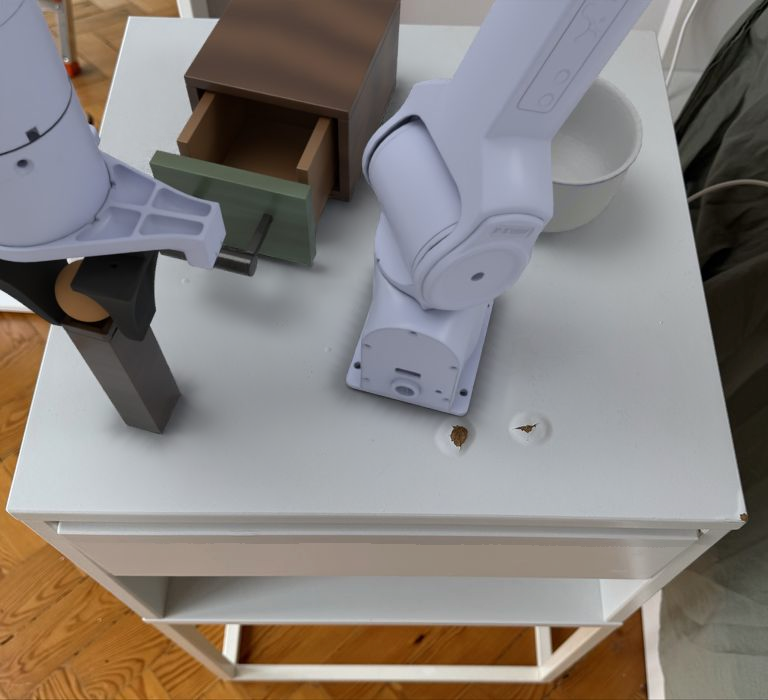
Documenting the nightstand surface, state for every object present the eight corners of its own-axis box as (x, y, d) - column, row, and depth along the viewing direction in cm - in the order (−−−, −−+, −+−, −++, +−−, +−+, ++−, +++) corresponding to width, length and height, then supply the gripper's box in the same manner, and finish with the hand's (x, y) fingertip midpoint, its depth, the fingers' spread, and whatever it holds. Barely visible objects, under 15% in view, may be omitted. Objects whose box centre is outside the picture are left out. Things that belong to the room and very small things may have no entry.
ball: (113, 340, 35) (94, 305, 32) (56, 325, 35) (32, 289, 33) (140, 291, 36) (123, 254, 34) (85, 277, 37) (64, 239, 34)
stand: (161, 434, 45) (105, 335, 35) (125, 424, 45) (60, 323, 35) (181, 393, 46) (133, 286, 36) (146, 383, 47) (89, 275, 37)
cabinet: (349, 202, 55) (348, 112, 47) (205, 168, 56) (182, 75, 49) (396, 85, 62) (401, -9, 54) (266, 58, 63) (254, -38, 56)
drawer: (288, 321, 48) (279, 257, 42) (143, 284, 49) (114, 217, 44) (361, 143, 57) (362, 70, 51) (236, 115, 58) (223, 40, 52)
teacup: (605, 154, 58) (639, 71, 51) (614, 262, 53) (652, 184, 46) (432, 138, 59) (442, 52, 52) (423, 243, 53) (432, 163, 46)
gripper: (225, 59, 27) (265, 279, 38) (-144, -1, 28) (5, 231, 39) (157, 201, 23) (224, 396, 35) (-264, 127, 24) (-61, 340, 36)
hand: (104, 316), depth 37 cm, fingers open, 3 cm apart
